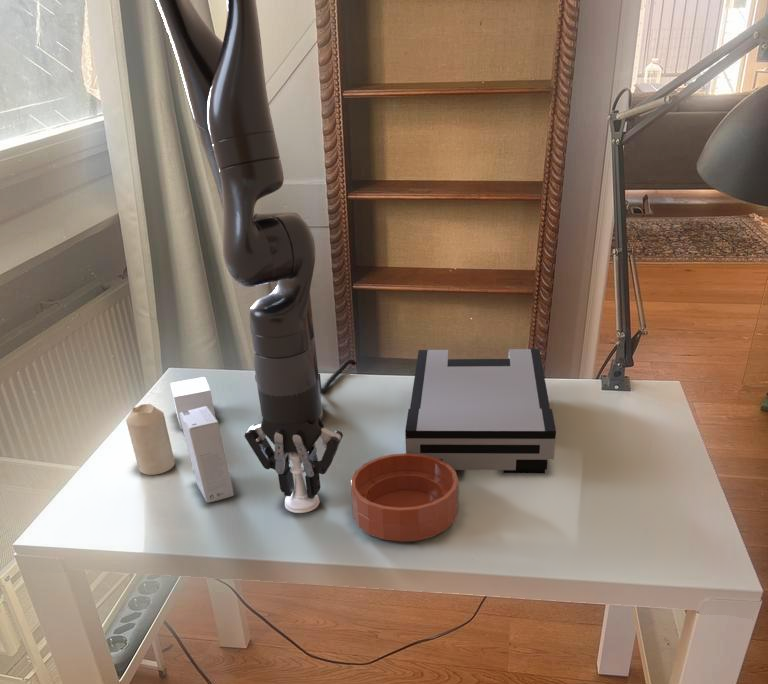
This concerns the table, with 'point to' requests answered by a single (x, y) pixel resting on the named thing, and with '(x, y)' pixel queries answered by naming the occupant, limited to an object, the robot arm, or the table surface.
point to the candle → (150, 439)
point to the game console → (482, 412)
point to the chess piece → (299, 490)
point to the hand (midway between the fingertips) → (300, 493)
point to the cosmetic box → (207, 453)
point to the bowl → (405, 497)
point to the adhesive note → (191, 396)
